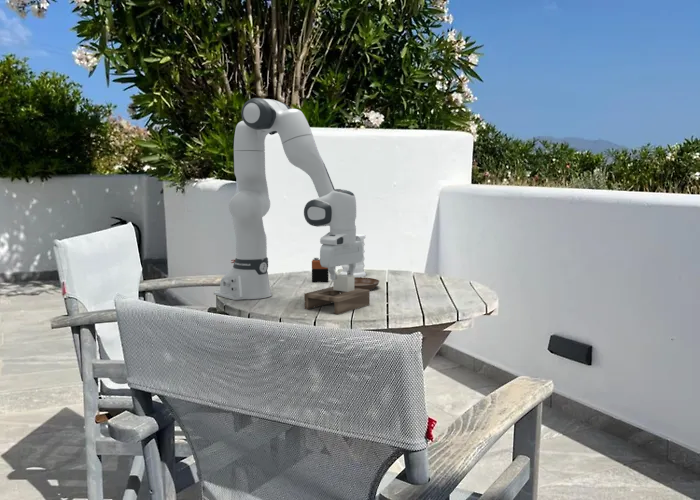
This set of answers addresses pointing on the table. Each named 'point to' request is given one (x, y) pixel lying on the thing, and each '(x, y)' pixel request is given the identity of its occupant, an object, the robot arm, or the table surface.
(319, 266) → the battery
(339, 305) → the brown open frame
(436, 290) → the table surface
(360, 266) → the decorative container
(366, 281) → the plant saucer
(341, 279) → the gray rectangular block
